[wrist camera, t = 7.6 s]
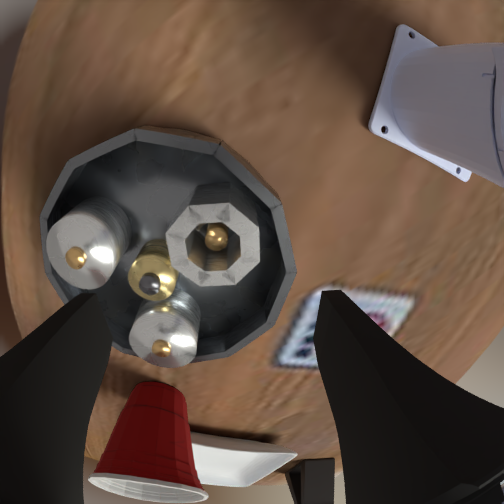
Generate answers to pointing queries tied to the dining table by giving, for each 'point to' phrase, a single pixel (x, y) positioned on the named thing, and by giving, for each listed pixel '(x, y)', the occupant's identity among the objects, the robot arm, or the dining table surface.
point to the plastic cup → (151, 449)
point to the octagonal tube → (193, 242)
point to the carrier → (161, 245)
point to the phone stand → (312, 481)
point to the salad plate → (235, 459)
